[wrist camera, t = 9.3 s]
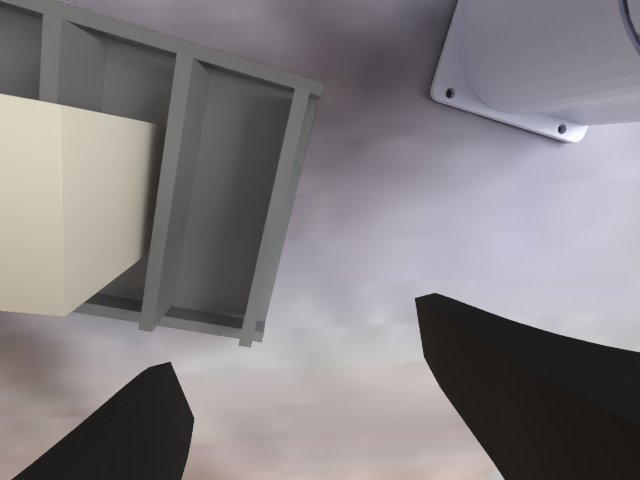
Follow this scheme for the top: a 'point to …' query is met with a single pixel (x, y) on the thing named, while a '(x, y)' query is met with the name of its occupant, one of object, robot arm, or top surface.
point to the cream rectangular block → (72, 202)
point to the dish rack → (179, 157)
